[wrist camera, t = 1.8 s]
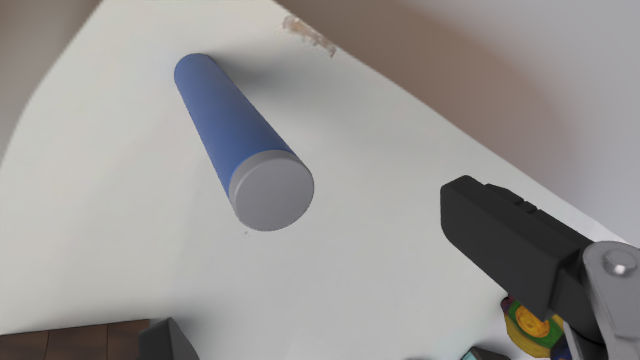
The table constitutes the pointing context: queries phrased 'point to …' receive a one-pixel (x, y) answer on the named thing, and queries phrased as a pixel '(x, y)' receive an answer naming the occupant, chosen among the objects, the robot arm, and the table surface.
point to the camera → (483, 355)
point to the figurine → (535, 332)
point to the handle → (244, 148)
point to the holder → (76, 343)
